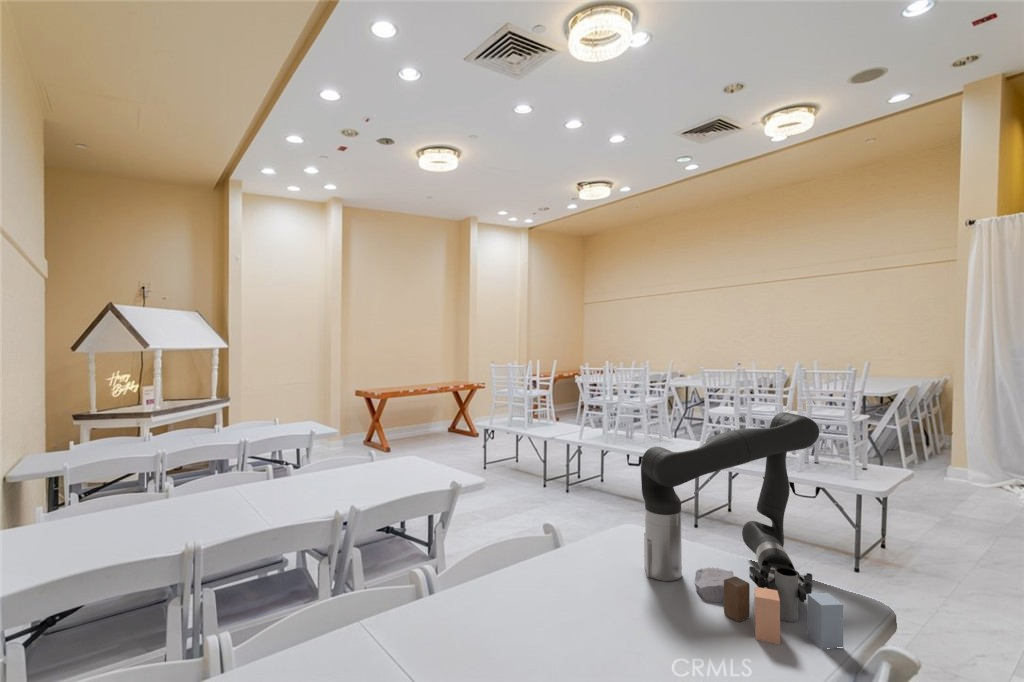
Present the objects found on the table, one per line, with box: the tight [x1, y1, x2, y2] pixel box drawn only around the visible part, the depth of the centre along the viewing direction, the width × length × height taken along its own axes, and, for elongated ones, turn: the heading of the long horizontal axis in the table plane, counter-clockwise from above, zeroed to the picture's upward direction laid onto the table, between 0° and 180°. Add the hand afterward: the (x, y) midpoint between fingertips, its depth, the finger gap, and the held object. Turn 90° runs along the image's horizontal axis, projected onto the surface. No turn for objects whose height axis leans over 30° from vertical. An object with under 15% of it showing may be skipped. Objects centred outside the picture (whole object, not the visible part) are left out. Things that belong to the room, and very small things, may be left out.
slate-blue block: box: [806, 592, 844, 650], centre depth 104 cm, size 4×4×9 cm
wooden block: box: [723, 575, 751, 623], centre depth 114 cm, size 4×4×8 cm
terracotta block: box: [753, 586, 781, 645], centre depth 106 cm, size 4×4×9 cm
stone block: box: [694, 566, 735, 603], centre depth 125 cm, size 12×5×10 cm
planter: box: [775, 567, 799, 623], centre depth 113 cm, size 4×4×10 cm
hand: (789, 595), depth 111 cm, fingers closed on planter, 4 cm apart
